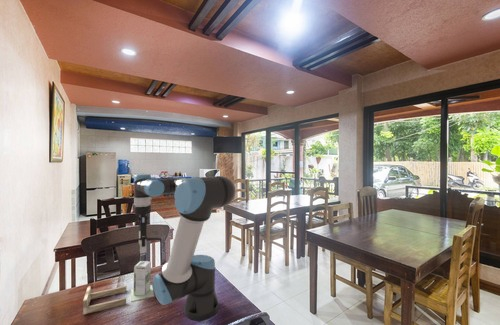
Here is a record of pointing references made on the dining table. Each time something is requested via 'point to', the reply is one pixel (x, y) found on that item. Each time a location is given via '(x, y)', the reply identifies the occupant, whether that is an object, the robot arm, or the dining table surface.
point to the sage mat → (140, 297)
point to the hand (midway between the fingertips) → (142, 248)
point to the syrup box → (142, 278)
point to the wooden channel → (103, 293)
